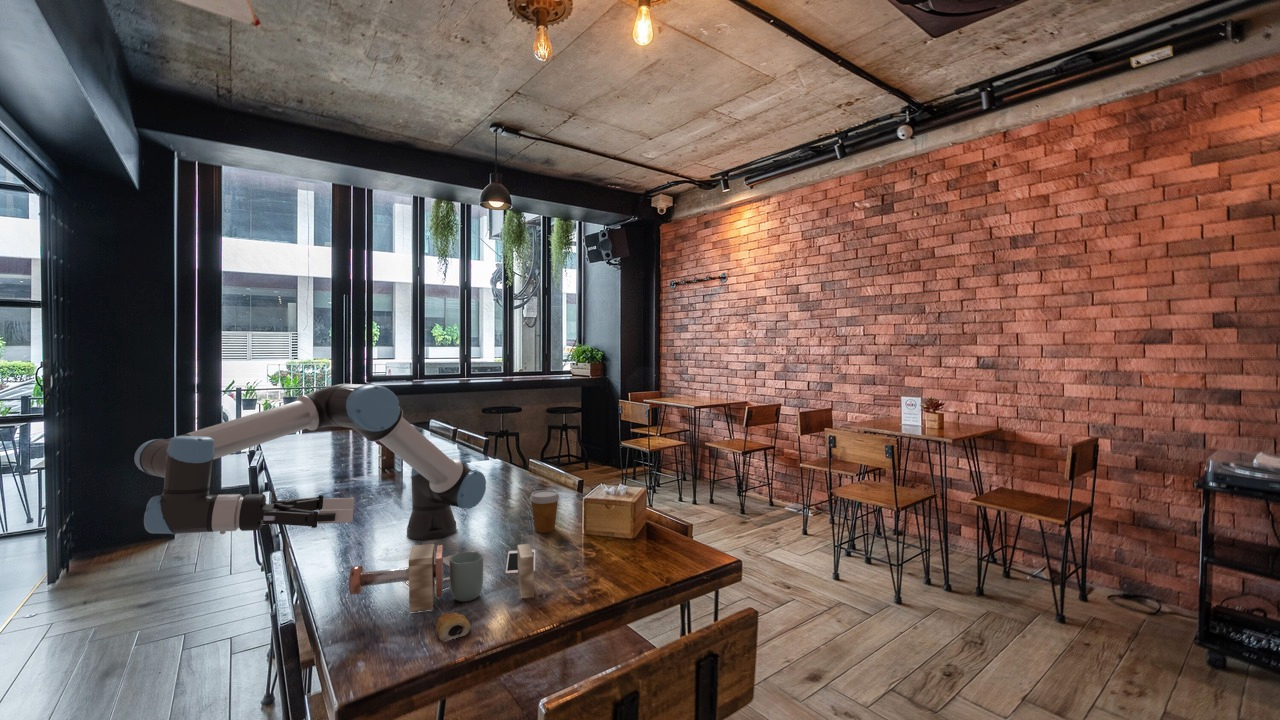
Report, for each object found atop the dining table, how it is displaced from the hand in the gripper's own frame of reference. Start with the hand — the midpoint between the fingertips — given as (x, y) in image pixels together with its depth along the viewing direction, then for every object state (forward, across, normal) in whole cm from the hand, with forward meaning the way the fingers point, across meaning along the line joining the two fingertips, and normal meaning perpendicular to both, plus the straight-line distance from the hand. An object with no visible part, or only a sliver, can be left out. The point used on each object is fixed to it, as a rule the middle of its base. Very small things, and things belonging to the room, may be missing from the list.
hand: (353, 509), depth 129 cm
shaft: (+11, 0, -20) cm, 23 cm away
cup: (+26, +2, -22) cm, 34 cm away
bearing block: (+16, 0, -22) cm, 28 cm away
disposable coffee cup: (+57, -38, -16) cm, 70 cm away
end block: (+40, +4, -20) cm, 45 cm away
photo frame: (+22, -18, -21) cm, 35 cm away
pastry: (+21, +17, -24) cm, 36 cm away
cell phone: (+44, -15, -19) cm, 50 cm away
